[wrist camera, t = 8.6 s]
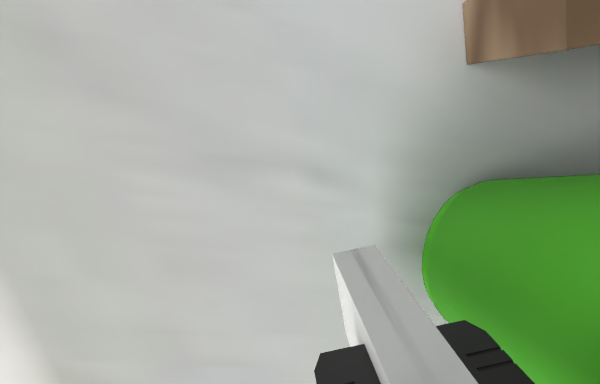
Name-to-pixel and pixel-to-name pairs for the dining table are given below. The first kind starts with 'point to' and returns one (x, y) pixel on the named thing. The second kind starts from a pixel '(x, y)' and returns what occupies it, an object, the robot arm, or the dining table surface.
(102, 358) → the dining table surface
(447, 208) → the cup
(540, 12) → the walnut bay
